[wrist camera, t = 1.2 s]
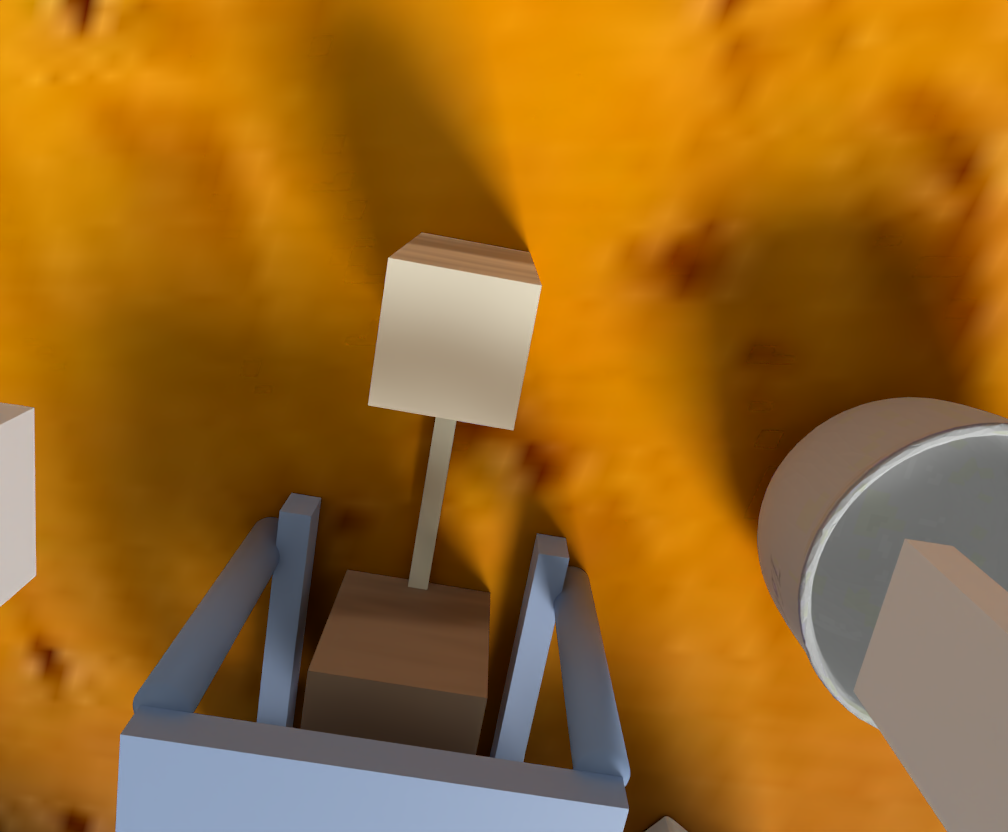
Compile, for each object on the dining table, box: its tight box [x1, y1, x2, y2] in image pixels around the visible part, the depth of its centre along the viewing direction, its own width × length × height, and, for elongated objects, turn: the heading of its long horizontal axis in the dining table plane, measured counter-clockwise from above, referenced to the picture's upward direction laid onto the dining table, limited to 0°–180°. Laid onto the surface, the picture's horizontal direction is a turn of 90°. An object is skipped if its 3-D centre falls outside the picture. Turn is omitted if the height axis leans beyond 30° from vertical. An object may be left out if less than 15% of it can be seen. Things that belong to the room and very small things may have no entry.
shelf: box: [116, 493, 630, 832], centre depth 29 cm, size 14×14×12 cm
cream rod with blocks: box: [300, 232, 542, 755], centre depth 28 cm, size 20×6×9 cm, turn 170°
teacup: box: [757, 397, 1008, 728], centre depth 29 cm, size 14×11×8 cm
